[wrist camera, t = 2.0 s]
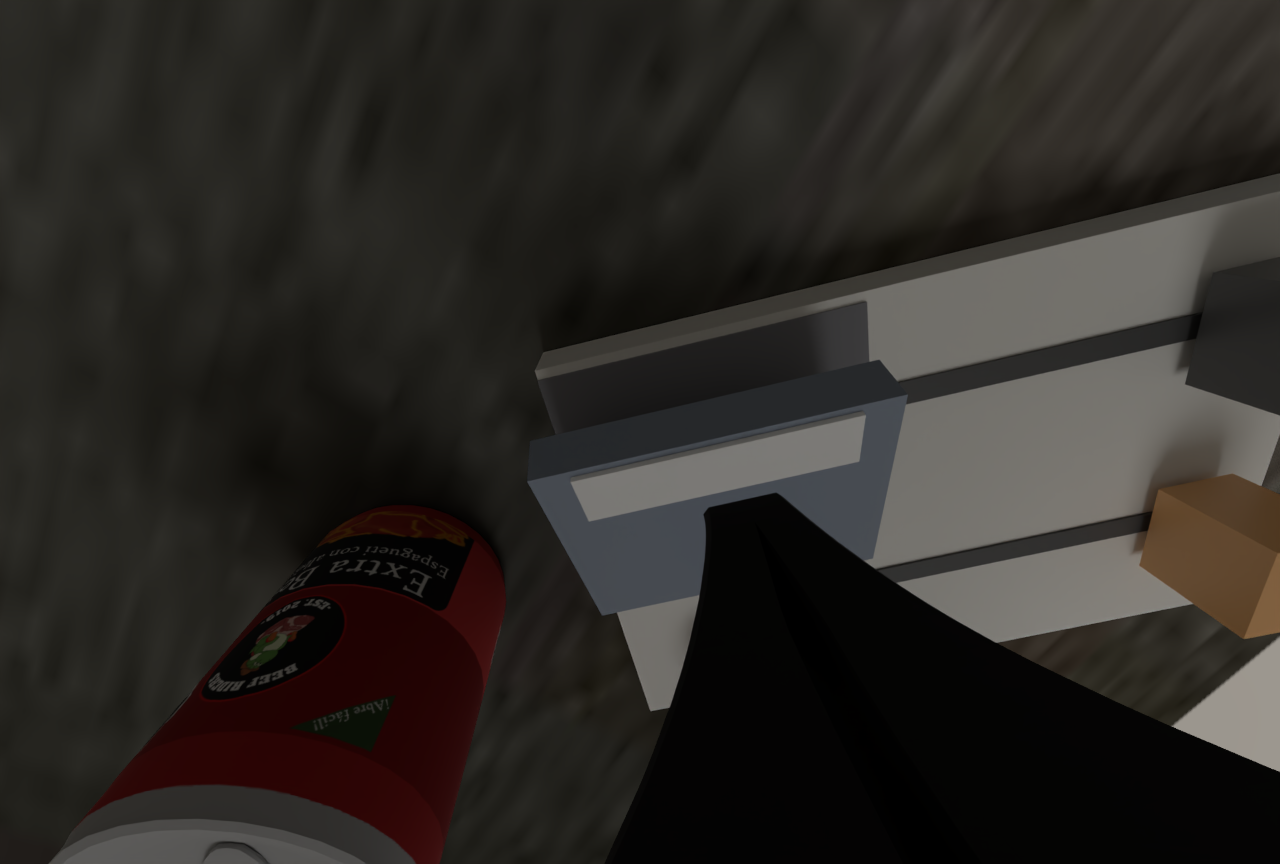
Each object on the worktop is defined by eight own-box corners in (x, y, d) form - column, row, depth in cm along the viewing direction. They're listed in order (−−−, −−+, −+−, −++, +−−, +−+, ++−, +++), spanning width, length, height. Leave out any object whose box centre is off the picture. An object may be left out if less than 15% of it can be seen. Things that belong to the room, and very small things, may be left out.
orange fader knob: (1207, 551, 19) (1330, 625, 16) (1139, 565, 19) (1247, 641, 16) (1232, 473, 17) (1374, 537, 14) (1158, 489, 18) (1282, 555, 14)
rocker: (854, 523, 17) (874, 562, 16) (599, 578, 18) (602, 619, 17) (879, 359, 12) (911, 398, 11) (530, 440, 13) (526, 486, 12)
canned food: (482, 484, 19) (337, 798, 9) (530, 636, 22) (463, 985, 13) (285, 512, 19) (-70, 851, 9) (362, 659, 23) (164, 1022, 13)
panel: (1172, 565, 22) (1273, 632, 19) (647, 672, 24) (653, 752, 20) (1285, 171, 16) (1475, 164, 12) (543, 352, 17) (524, 391, 14)
